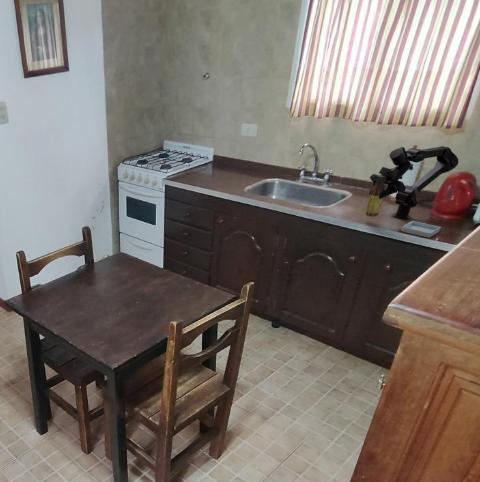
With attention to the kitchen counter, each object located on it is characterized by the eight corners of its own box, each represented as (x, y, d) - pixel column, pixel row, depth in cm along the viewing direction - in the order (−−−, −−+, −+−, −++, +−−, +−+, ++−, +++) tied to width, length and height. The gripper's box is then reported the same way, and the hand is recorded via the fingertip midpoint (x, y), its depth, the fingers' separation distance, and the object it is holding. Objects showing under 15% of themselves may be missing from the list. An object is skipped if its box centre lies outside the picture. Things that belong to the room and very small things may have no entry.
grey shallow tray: (411, 225, 241) (412, 220, 239) (439, 231, 232) (441, 227, 231) (400, 231, 234) (401, 226, 233) (428, 237, 226) (430, 233, 225)
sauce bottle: (380, 216, 242) (392, 177, 230) (368, 217, 242) (379, 177, 231) (374, 212, 247) (385, 173, 236) (362, 213, 247) (373, 174, 236)
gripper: (377, 157, 238) (354, 182, 242) (408, 164, 223) (382, 191, 227) (385, 171, 244) (362, 195, 248) (416, 179, 230) (391, 205, 233)
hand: (374, 196), depth 239 cm, fingers closed on sauce bottle, 6 cm apart
